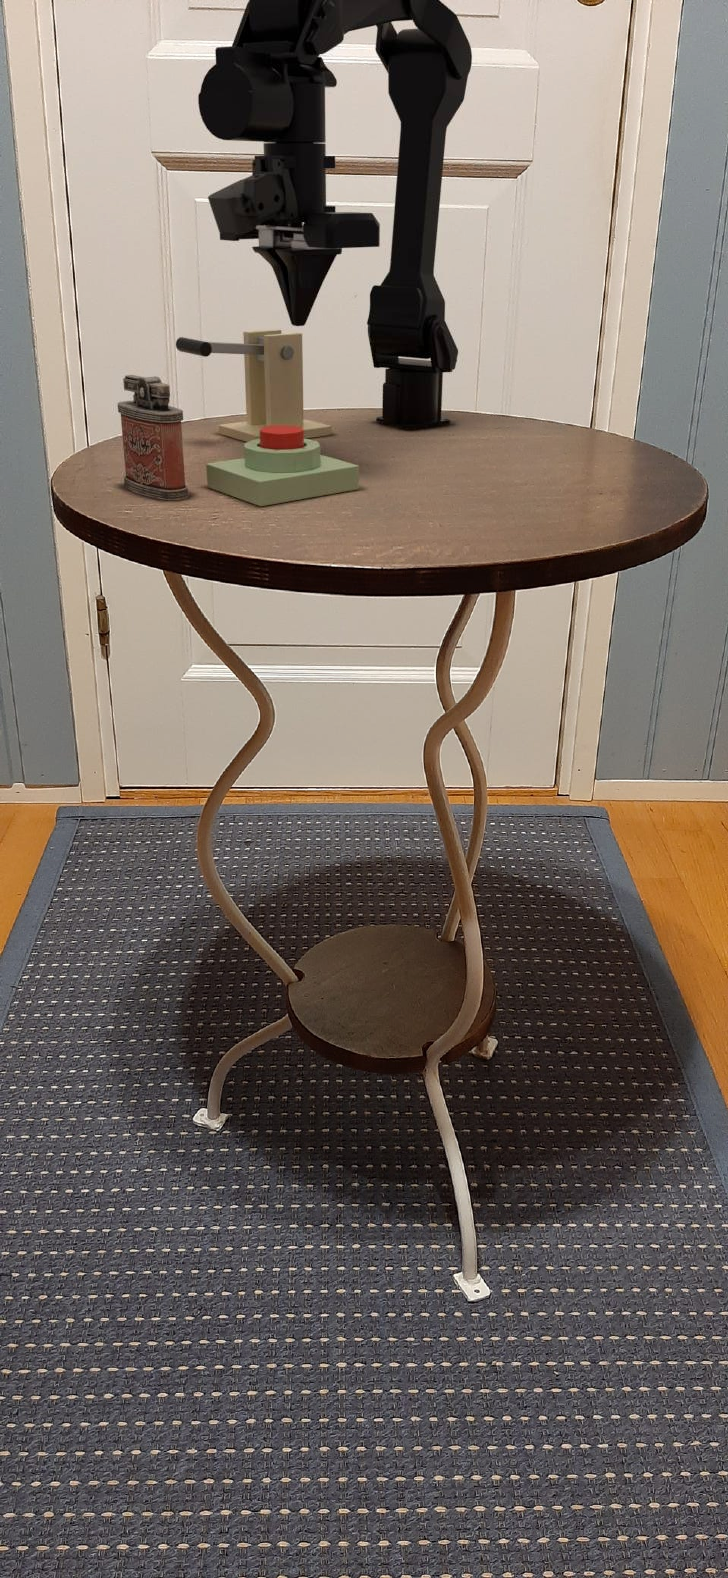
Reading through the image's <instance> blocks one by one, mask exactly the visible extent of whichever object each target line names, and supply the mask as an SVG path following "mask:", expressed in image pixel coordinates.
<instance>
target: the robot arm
mask: <svg viewBox="0 0 728 1578" xmlns="http://www.w3.org/2000/svg"><path fill="white" fill-rule="evenodd" d="M243 11H244V12H243V15H242V17H241V20H240V22H239V26H238V28H237V31H236V34H235V36H234V39H233V42H232V44H231V46H217V47H216V48H215V50H214V52H215V64H213V65H212V66H211V67H210V69H208V71H207V73H206V74H205V75H204V77H203V80H202V83H201V86H200V91H199V93H198V95H197V99H198V100H197V103H198V110H199V115H200V117H201V120H202V123H203V124H204V126H205V128H206V130H207V131H208V132H209V133H210V134H211V135H212V136H214V137H215V138H217V139H219V140H222V141H232V142H233V141H234V142H236V141H237V142H259V143H263V155H254V159H253V160H252V162H251V165H252V167H251V168H252V173H251V175H249V176H248V177H247V176H246V177H245V178H242V179H239V180H237V181H235V182H233V183H231V184H230V185H229V184H228V185H227V186H225V187H223V188H220V189H219V190H216V192H213V193H211V194H209V195H208V197H207V200H208V203H209V205H210V208H211V211H212V214H213V217H214V221H215V224H216V227H217V229H218V233H219V241H231V242H240V240H258V246H252V247H251V248H252V250H253V252H254V253H255V254H259V255H260V256H261V257H262V258H263V259H264V260H265V261H266V262H267V263H268V264H270V266H271V269H272V270H273V274H274V276H275V278H276V280H277V283H278V286H279V290H280V292H281V296H282V299H283V302H284V305H285V309H286V311H287V315H288V318H289V321H290V324H291V325H292V326H293V327H303V326H306V324H307V321H308V319H309V317H310V314H311V312H312V309H313V307H314V304H315V302H316V300H317V297H318V294H319V293H320V290H321V288H322V287H323V283H324V281H325V279H326V277H327V275H328V273H329V271H330V269H331V268H332V265H333V263H334V261H335V260H336V258H337V255H342V253H343V249H357V248H380V246H381V245H380V241H381V240H380V239H381V238H380V237H381V234H380V233H381V224H380V222H379V221H378V220H377V218H376V216H375V215H374V213H373V212H357V211H336V205H327V170H328V169H331V170H332V169H336V156H335V155H332V156H331V155H327V151H326V149H327V148H326V147H327V145H326V141H327V139H326V135H327V134H326V88H327V89H328V88H335V87H336V86H337V85H338V79H337V78H336V77H335V74H334V73H333V72H332V71H331V70H330V69H329V68H328V67H327V65H326V64H325V62H324V59H323V57H322V56H320V55H324V54H326V53H328V52H329V51H331V50H333V49H334V48H336V47H337V46H339V45H340V44H341V43H343V41H344V38H345V35H346V34H348V33H349V32H353V31H356V30H357V31H358V30H361V29H366V28H371V27H375V26H376V39H375V49H374V50H375V53H376V54H377V56H378V58H379V60H380V62H381V64H382V65H383V67H384V69H385V71H386V73H387V78H388V79H387V89H388V90H387V92H388V96H389V99H390V101H391V102H392V105H393V107H394V110H395V113H396V115H397V117H398V120H399V121H400V131H399V142H398V143H399V145H398V155H397V156H398V157H397V159H398V160H397V168H396V169H397V171H396V183H395V196H394V209H393V222H392V223H393V224H392V236H391V246H390V247H391V249H390V261H389V262H390V263H389V270H388V272H387V274H386V275H385V277H384V279H383V280H382V282H381V283H380V285H377V284H376V285H375V284H374V285H373V286H372V287H371V290H370V292H369V310H368V318H367V321H366V325H367V337H368V343H369V348H370V353H371V359H372V365H373V368H374V369H381V368H383V369H384V368H385V370H384V371H385V373H384V382H383V383H382V404H381V405H382V406H381V407H382V413H381V414H382V415H381V416H376V417H375V421H376V422H377V423H382V424H387V425H390V426H395V427H399V428H403V429H406V430H407V429H408V430H413V429H420V428H428V427H435V426H441V425H448V424H450V423H451V419H450V418H446V417H443V416H442V410H443V409H442V407H443V383H444V382H443V381H444V380H443V379H444V373H452V372H453V370H455V369H456V365H457V362H458V356H459V349H458V347H457V344H456V342H455V340H454V337H453V335H452V334H451V331H450V329H449V327H448V324H447V322H446V300H445V298H444V295H443V293H442V291H441V288H440V285H439V284H438V281H437V280H436V278H435V262H436V261H435V260H436V248H437V240H438V239H437V238H438V227H439V218H440V217H439V215H440V204H441V196H442V195H441V192H442V184H443V170H444V160H445V148H446V138H447V137H446V136H447V130H448V127H449V125H450V123H451V121H452V120H453V118H454V116H455V115H456V113H457V112H458V110H459V109H460V107H461V106H462V104H463V102H464V100H465V97H466V96H465V95H466V90H467V83H468V78H469V75H470V72H471V68H472V64H473V54H472V53H473V52H472V48H471V47H472V46H471V43H470V41H469V39H468V37H467V35H466V32H465V30H464V28H463V26H462V24H461V22H460V19H459V18H458V15H457V14H456V13H455V12H454V11H453V10H452V9H451V8H450V7H448V6H447V5H446V4H445V3H444V2H442V1H441V0H248V2H247V3H246V6H245V8H244V10H243ZM405 21H406V22H407V21H412V22H413V24H414V26H415V27H416V28H406V29H405V28H404V29H402V30H399V31H398V33H397V30H396V28H395V26H394V24H393V22H405ZM429 359H430V360H429Z"/></svg>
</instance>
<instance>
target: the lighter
mask: <svg viewBox="0 0 728 1578" xmlns="http://www.w3.org/2000/svg"><path fill="white" fill-rule="evenodd" d="M122 380H123V391H128V392H131V393H134V394H133V395H132V398H133V400H123V401H119V402H117V413H119V414H120V422H121V435H122V447H123V457H124V458H123V459H124V469H125V470H124V471H125V475H124V476H123V482H124V483H123V484H124V488H125V489H128V490H129V491H130V492H133V493H137V494H139V495H142V496H146V497H149V498H154V499H157V500H163V501H179V500H185V499H187V498H188V497H189V491H188V490H189V488H188V485H187V484H186V477H185V476H186V475H185V460H184V443H183V429H182V426H183V425H182V421H183V420H184V410H183V409H181V408H177V407H174V406H171V405H169V404H170V402H171V401H170V397H171V388H170V387H171V386H170V384H168V383H164V382H162V380H161V378H160V377H159V376H156V375H155V376H147V377H145V376H141V375H136V374H125V375H124V377H123V378H122Z"/></svg>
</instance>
